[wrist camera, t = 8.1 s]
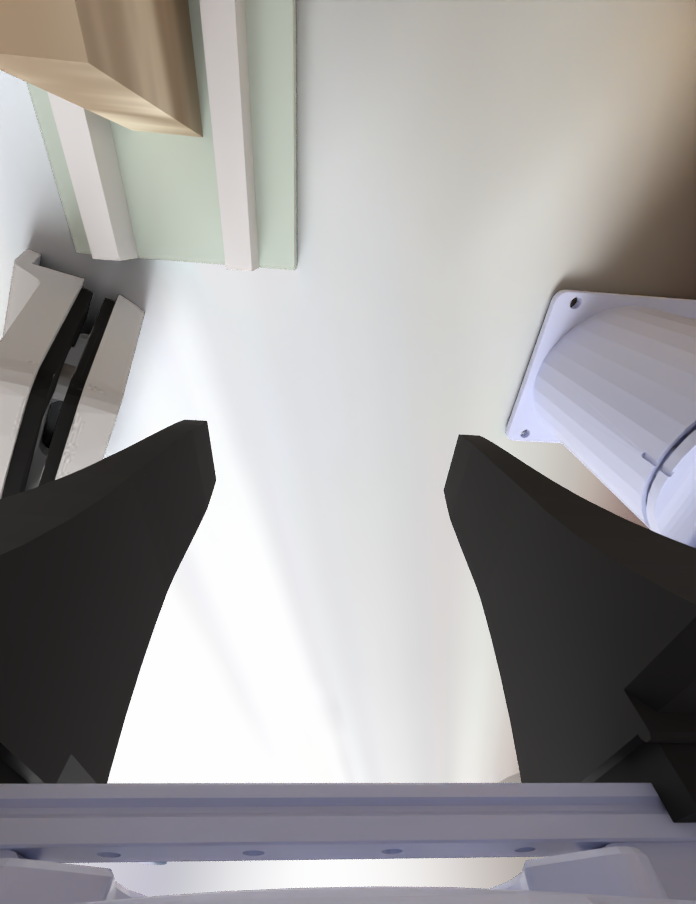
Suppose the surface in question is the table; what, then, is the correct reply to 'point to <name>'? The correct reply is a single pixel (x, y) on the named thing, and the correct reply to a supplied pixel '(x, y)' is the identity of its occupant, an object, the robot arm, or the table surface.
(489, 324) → the table surface
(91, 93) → the door panel
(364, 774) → the table surface
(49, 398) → the hinge
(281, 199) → the track board
